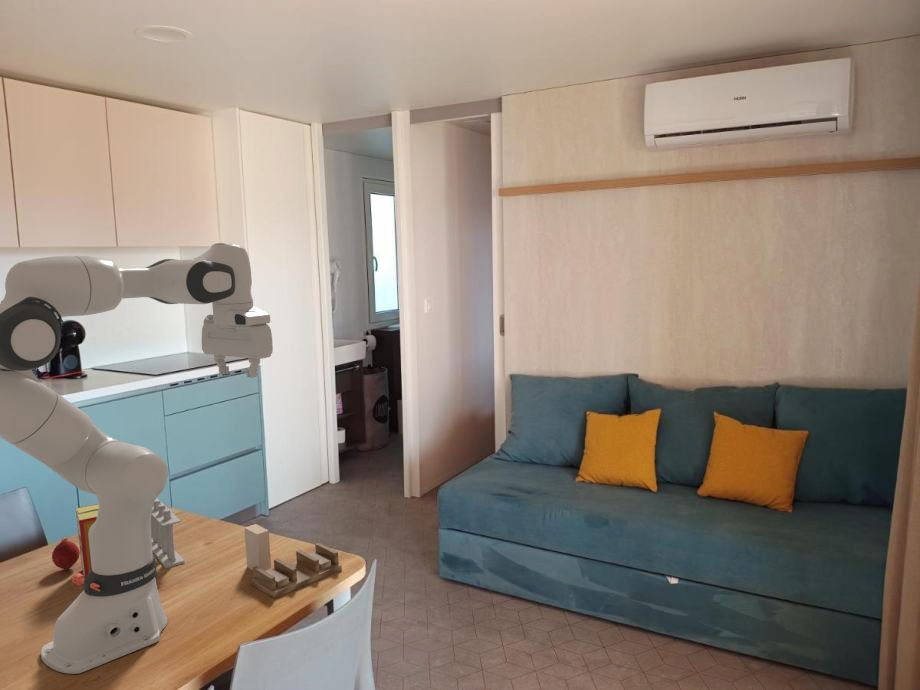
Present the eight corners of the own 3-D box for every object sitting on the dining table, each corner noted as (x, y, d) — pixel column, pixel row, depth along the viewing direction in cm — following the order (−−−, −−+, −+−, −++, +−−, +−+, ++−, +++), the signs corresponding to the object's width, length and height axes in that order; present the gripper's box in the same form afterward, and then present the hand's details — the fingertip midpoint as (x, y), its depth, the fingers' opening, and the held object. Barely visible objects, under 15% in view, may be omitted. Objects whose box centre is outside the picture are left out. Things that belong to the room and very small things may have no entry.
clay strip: (259, 574, 162) (257, 534, 161) (247, 567, 166) (244, 527, 165) (271, 570, 164) (268, 530, 163) (258, 562, 169) (255, 523, 167)
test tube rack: (139, 537, 186) (135, 489, 184) (156, 532, 189) (152, 486, 187) (165, 569, 167) (161, 516, 165) (184, 563, 169) (180, 512, 168)
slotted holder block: (274, 598, 151) (273, 580, 150) (251, 583, 158) (249, 566, 157) (341, 569, 164) (340, 553, 163) (317, 557, 171) (316, 541, 170)
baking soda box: (117, 577, 163) (110, 512, 161) (86, 585, 159) (79, 519, 157) (111, 562, 171) (105, 500, 168) (82, 570, 167) (75, 506, 165)
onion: (79, 572, 166) (75, 540, 165) (51, 577, 164) (48, 544, 163) (82, 562, 171) (79, 531, 170) (55, 566, 169) (52, 535, 168)
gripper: (192, 315, 160) (197, 374, 162) (253, 318, 149) (257, 381, 151) (214, 313, 165) (219, 370, 167) (275, 315, 154) (279, 376, 156)
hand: (237, 375), depth 159 cm, fingers open, 8 cm apart
